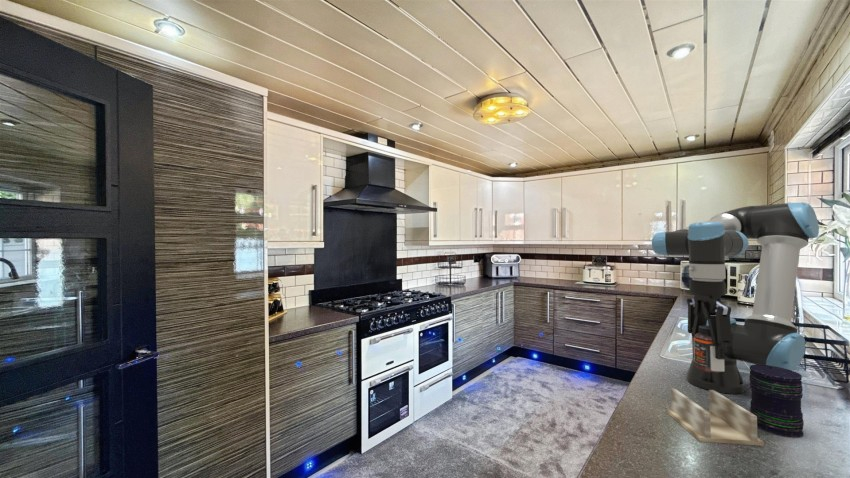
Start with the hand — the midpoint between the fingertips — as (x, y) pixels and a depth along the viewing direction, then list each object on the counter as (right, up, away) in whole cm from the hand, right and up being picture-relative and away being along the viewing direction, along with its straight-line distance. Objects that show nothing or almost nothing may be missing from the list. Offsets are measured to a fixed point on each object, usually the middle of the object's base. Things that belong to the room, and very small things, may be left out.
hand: (708, 366), depth 90 cm
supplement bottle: (0, -1, 0) cm, 1 cm away
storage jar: (+17, -16, -1) cm, 24 cm away
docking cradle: (0, -16, 0) cm, 16 cm away
